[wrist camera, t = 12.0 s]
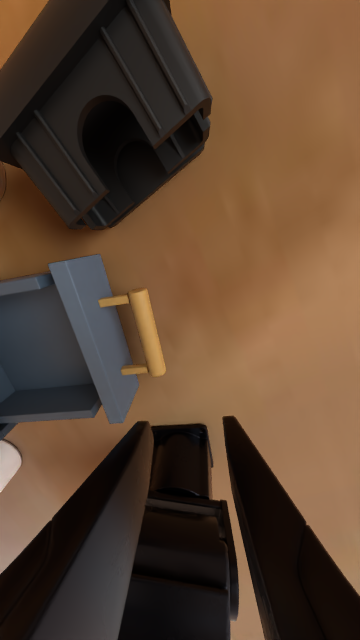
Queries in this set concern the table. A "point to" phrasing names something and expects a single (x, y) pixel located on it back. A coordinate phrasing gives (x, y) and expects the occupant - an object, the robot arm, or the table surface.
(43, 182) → the end cap
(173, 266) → the table surface
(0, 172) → the measuring cup
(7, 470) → the can
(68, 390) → the drawer
